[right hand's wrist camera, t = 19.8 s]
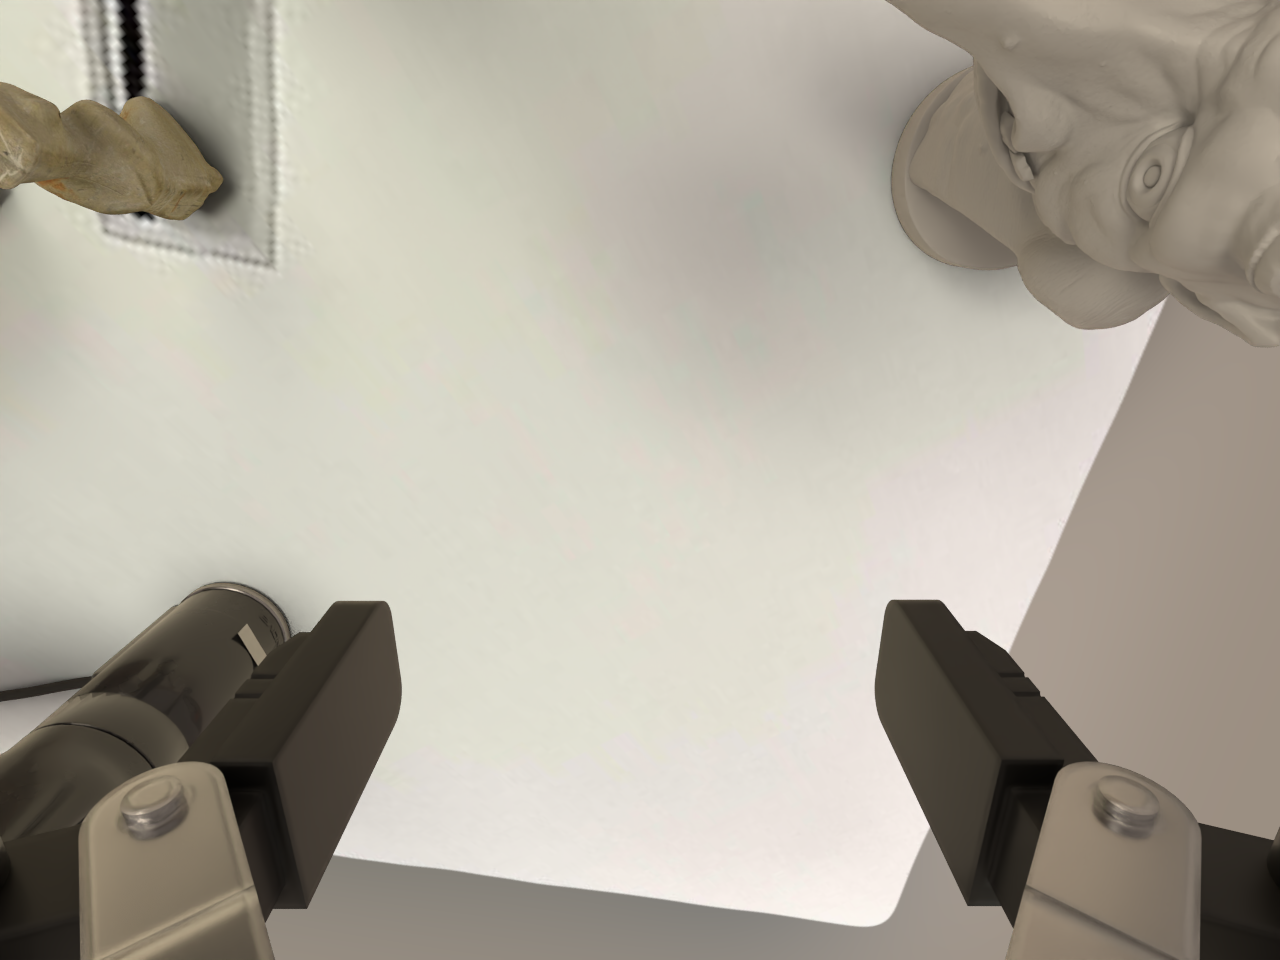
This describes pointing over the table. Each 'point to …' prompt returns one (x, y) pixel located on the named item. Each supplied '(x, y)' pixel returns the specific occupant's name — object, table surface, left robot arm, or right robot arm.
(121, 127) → the sculpture
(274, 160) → the table surface
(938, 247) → the bust sculpture
